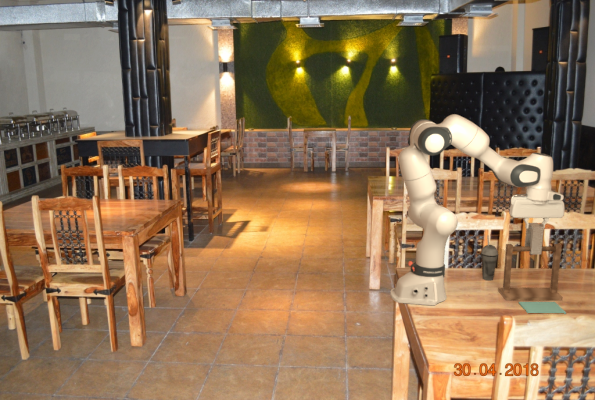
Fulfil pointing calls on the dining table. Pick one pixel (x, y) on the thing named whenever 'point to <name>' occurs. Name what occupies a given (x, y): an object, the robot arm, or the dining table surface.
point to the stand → (531, 293)
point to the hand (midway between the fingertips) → (534, 228)
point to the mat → (542, 307)
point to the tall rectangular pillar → (534, 238)
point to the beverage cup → (488, 261)
